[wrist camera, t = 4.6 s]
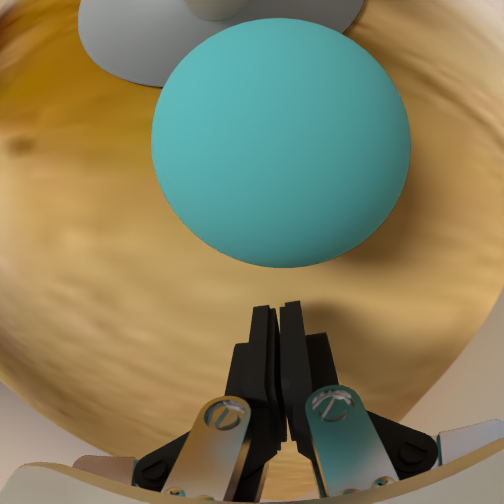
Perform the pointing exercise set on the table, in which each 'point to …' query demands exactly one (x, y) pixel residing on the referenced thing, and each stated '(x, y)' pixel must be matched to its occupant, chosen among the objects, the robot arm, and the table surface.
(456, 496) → the robot arm
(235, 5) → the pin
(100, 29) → the pin spot
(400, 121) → the ball
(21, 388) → the table surface
